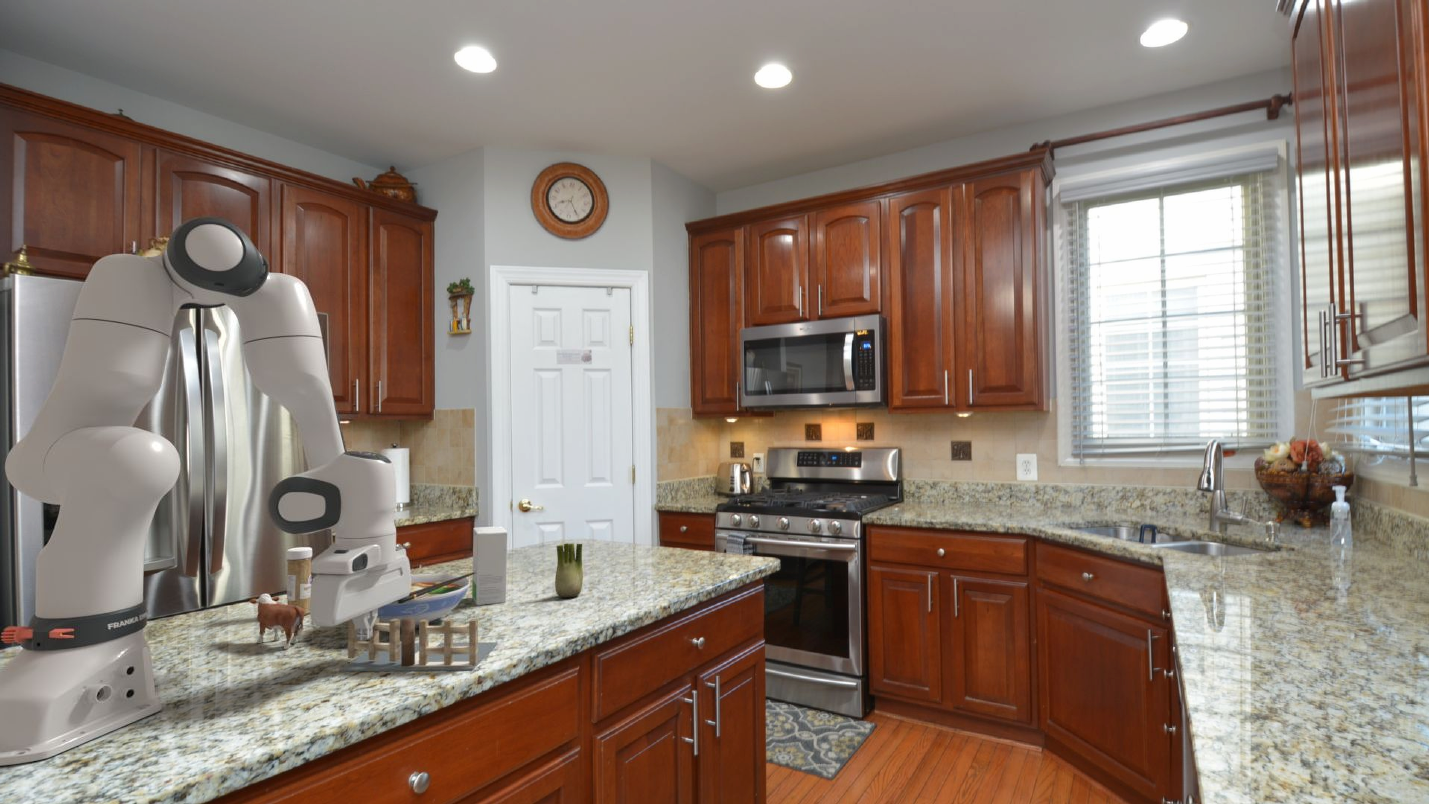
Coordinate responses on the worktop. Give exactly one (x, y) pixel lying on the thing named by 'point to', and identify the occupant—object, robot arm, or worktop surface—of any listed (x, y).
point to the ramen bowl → (427, 598)
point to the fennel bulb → (569, 570)
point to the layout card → (433, 660)
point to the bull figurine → (279, 618)
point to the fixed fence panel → (448, 641)
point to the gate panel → (376, 640)
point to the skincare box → (489, 565)
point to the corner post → (408, 642)
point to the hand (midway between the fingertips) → (365, 639)
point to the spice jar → (299, 577)
